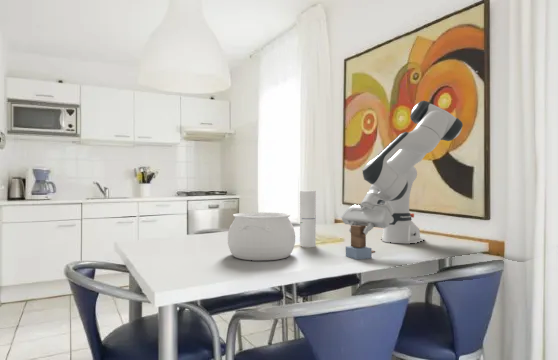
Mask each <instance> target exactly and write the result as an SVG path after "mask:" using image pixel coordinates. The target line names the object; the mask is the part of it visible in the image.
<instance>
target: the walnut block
mask: <svg viewBox="0 0 558 360" xmlns="http://www.w3.org/2000/svg"><path fill="white" fill-rule="evenodd" d="M366 227H367V226H363V225H352V226H350V228H351V233H350V246H351V247H358V248H361V247H367V246H366V244H367V243H366V242H367V238H366V237H367V235H365V234H362V229H363V228H366Z"/></svg>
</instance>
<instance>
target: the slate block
mask: <svg viewBox="0 0 558 360" xmlns="http://www.w3.org/2000/svg"><path fill="white" fill-rule="evenodd" d="M372 251H373V250H372V247H370V246H369V247H368V246H366V247H361V248H358V247H351V245H348V246H345V257H346V258H351V259H354V260H364V259H366V258H367V259H372V254H373V253H372Z"/></svg>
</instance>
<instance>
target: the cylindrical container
mask: <svg viewBox="0 0 558 360" xmlns="http://www.w3.org/2000/svg"><path fill="white" fill-rule="evenodd" d="M316 195H317V194H316V190H299V247H300V246H302V248H315V247H316V245H317V244H316V239H317V237H316V236H317V235H316V233H317V231H316V227H317V226H316V223H317V222H316V221H317V220H316V212H317V211H316V210H317V209H316V206H317V204H316V203H317V199H316Z"/></svg>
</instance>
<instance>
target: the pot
mask: <svg viewBox="0 0 558 360" xmlns="http://www.w3.org/2000/svg"><path fill="white" fill-rule="evenodd" d="M232 216H233V217H234V219H233V220H232V222H231V224H230V226H229V228H228V233H227V245H228V249H229V251H230V253H231V255H232V256H233V257H234V258H236V259H239V260H243V261H251V260H252V261H254V262H256V261H257V262H267V261H278V260H282V259H285V258H288V257H290V255H291V254H292V253H293V251H294V248H295V246H296V245H295V244H296V232H295V231H296V230H295V227H294V225H293V224H292V222H291V220H290V218H289V217H291V214H290V213H284V212H240V213H239V212H238V213H233V214H232ZM252 261H251V262H252Z"/></svg>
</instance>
